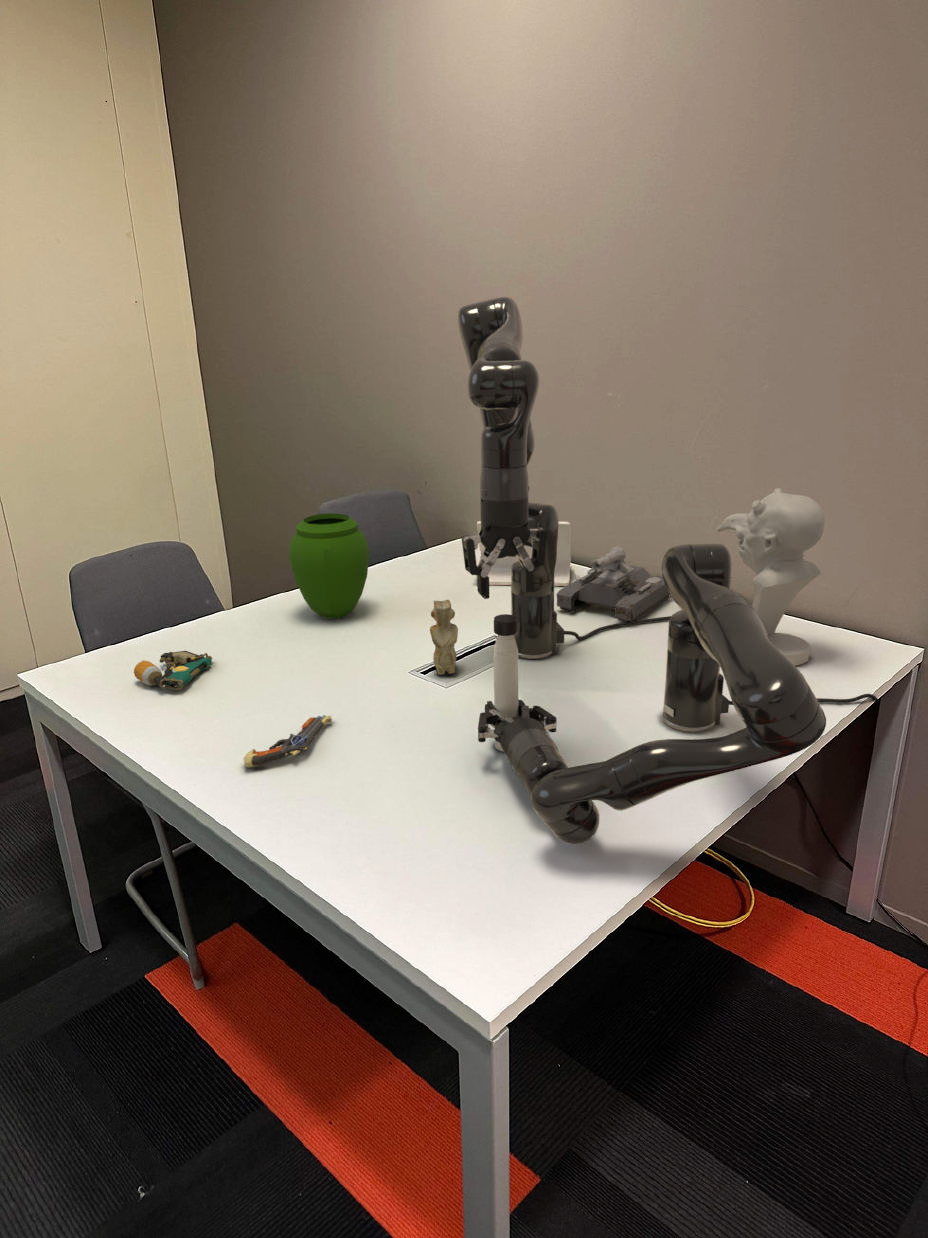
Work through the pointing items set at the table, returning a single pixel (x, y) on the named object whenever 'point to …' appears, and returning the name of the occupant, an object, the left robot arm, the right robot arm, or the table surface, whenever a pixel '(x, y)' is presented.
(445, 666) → the sculpture
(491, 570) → the tablet stand
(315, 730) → the toy gun
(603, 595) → the toy
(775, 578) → the bust sculpture
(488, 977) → the table surface
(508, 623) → the cap
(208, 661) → the spray gun
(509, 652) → the bottle
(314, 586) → the vase
